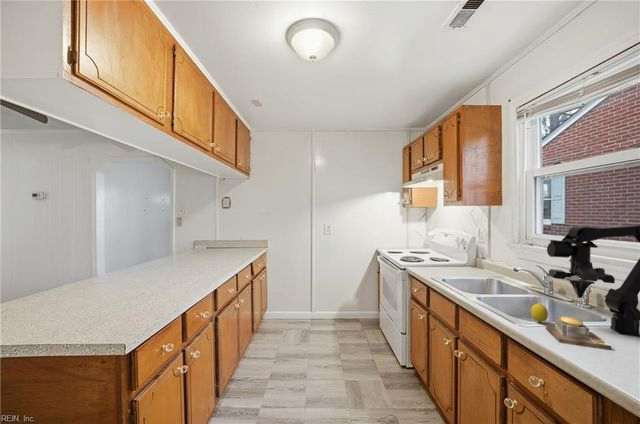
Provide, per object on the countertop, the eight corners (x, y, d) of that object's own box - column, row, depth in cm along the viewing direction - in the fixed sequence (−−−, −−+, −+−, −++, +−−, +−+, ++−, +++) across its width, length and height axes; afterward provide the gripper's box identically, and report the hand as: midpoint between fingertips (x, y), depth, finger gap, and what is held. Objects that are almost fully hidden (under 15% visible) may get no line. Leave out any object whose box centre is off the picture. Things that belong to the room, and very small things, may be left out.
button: (577, 331, 105) (577, 318, 105) (586, 337, 99) (586, 324, 99) (557, 328, 107) (557, 315, 107) (564, 334, 101) (565, 321, 101)
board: (591, 335, 105) (591, 321, 105) (611, 350, 94) (611, 335, 94) (545, 329, 110) (546, 316, 110) (559, 342, 99) (559, 328, 99)
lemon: (548, 322, 117) (548, 303, 117) (547, 326, 112) (547, 306, 112) (531, 319, 120) (531, 300, 120) (530, 322, 116) (530, 303, 116)
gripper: (560, 259, 107) (559, 300, 107) (624, 263, 101) (623, 307, 101) (548, 255, 118) (547, 292, 118) (606, 259, 111) (605, 298, 111)
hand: (579, 297), depth 112 cm, fingers closed
